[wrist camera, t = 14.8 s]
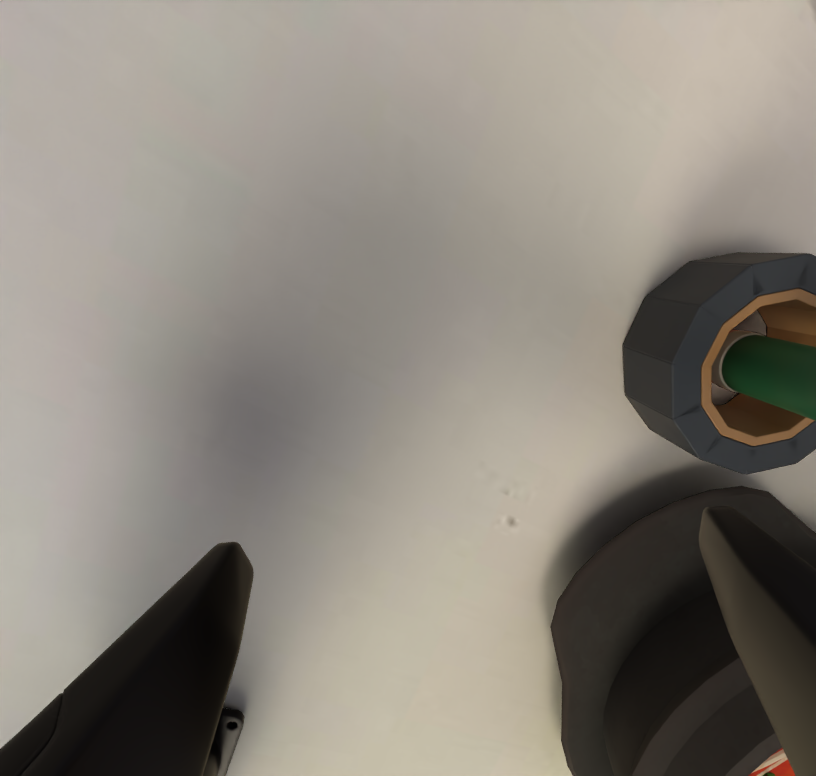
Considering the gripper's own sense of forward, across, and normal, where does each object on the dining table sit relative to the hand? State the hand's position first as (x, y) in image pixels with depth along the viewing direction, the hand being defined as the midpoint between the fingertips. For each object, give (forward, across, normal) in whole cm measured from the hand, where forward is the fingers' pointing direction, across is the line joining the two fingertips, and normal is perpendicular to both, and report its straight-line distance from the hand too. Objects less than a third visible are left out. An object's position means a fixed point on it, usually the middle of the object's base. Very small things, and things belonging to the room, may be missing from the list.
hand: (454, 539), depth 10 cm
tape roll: (+14, -11, +6) cm, 19 cm away
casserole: (+9, -10, +23) cm, 27 cm away
